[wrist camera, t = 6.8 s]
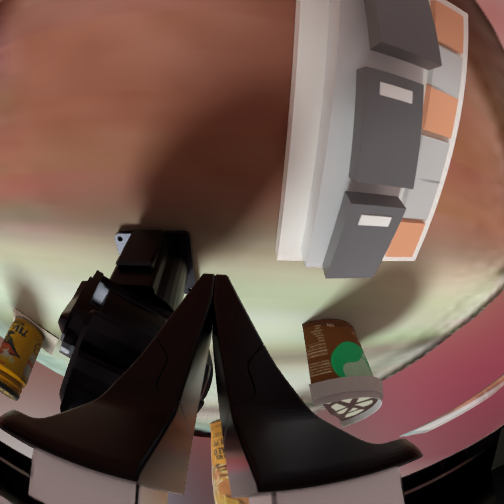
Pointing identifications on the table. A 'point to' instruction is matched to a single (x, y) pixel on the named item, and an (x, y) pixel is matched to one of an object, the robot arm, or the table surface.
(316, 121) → the switch unit
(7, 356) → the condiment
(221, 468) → the pancake mix bag
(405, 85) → the rocker middle
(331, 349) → the food container
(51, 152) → the table surface
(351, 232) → the block
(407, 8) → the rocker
